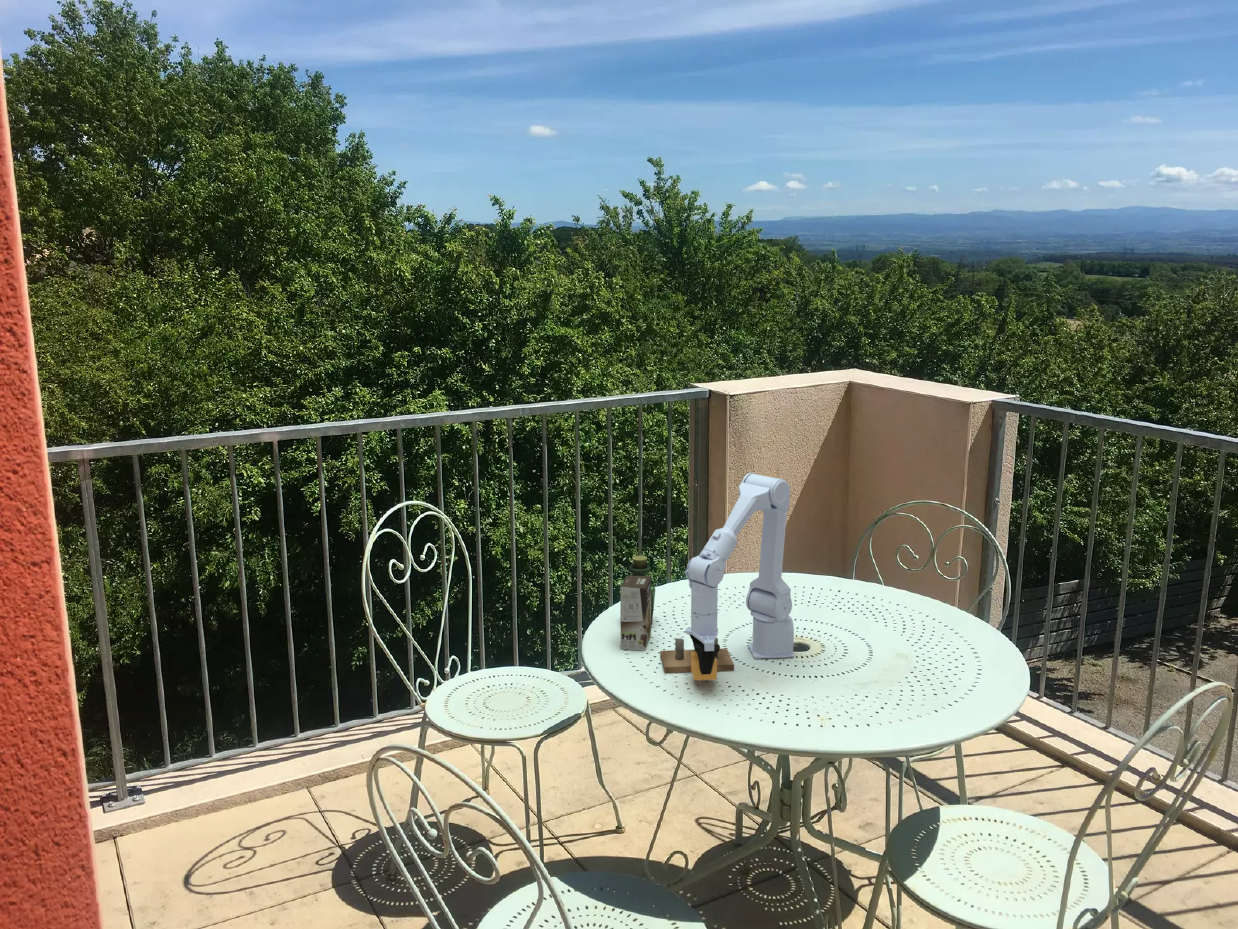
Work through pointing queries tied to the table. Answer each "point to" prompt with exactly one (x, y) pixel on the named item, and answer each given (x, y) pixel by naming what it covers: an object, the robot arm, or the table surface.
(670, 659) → the wooden peg board
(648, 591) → the coffee box
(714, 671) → the wooden toy cube
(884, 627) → the table surface
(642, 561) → the potion bottle
